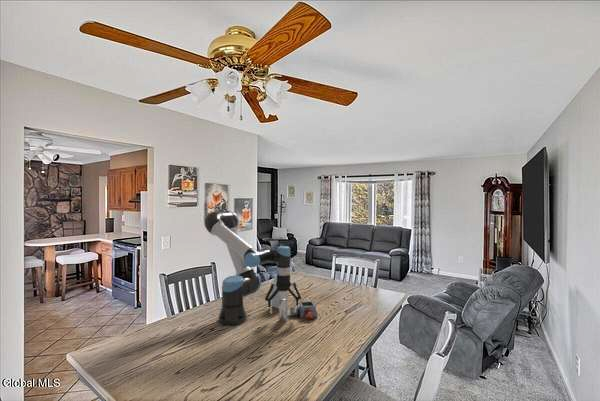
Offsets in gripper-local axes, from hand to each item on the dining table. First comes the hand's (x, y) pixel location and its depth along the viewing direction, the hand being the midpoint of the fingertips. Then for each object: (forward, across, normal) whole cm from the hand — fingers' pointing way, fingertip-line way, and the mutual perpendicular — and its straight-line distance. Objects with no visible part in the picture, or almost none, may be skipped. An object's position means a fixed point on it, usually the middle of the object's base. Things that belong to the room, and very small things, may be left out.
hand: (283, 312), depth 160 cm
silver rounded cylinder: (+5, 0, 0) cm, 5 cm away
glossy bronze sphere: (+5, +19, +14) cm, 24 cm away
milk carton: (+5, 0, +22) cm, 23 cm away
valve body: (+5, +12, +5) cm, 14 cm away
